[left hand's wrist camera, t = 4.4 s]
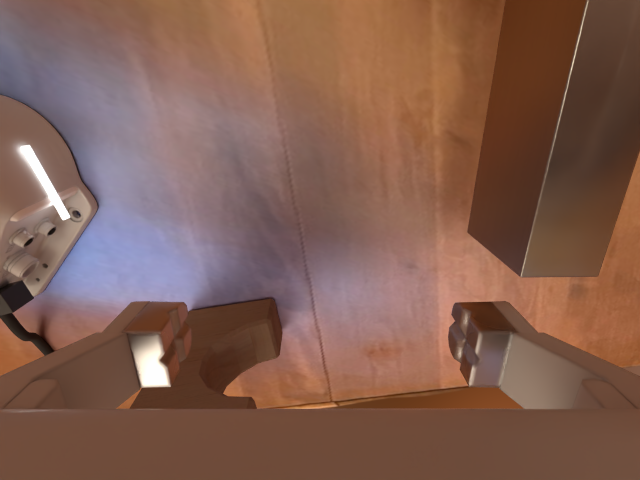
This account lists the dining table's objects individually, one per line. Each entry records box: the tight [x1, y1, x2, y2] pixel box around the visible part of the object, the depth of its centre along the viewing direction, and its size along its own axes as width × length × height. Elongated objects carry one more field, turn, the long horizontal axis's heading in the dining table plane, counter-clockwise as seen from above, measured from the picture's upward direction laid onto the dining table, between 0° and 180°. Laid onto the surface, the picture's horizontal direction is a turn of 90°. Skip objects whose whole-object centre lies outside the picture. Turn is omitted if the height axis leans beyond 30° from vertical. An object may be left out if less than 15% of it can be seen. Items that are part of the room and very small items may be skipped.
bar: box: [467, 0, 640, 277], centre depth 21 cm, size 27×5×8 cm, turn 0°
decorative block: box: [130, 299, 282, 409], centre depth 34 cm, size 11×6×20 cm, turn 98°
